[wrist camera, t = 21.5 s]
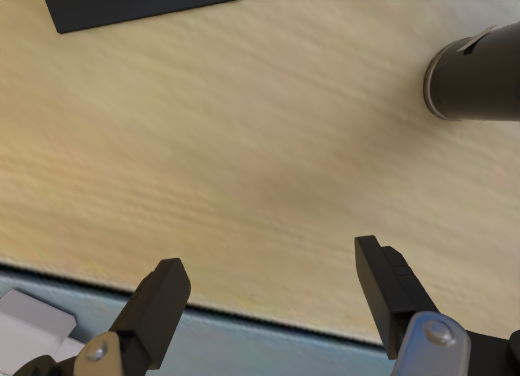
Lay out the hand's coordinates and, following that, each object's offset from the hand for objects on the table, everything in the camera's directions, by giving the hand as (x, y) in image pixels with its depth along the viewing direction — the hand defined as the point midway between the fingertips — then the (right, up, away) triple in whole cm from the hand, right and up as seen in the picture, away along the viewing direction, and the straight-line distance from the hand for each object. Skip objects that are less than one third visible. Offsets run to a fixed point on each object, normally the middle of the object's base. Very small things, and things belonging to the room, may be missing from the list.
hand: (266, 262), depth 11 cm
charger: (-31, -18, +26) cm, 45 cm away
